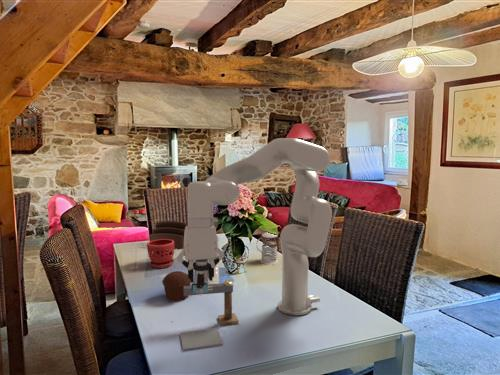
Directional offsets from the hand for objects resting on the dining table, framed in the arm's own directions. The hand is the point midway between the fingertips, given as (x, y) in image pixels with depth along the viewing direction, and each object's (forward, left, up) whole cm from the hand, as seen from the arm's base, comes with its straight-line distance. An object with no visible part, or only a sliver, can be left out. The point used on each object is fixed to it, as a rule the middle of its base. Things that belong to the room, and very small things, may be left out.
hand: (201, 279), depth 118 cm
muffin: (+4, -35, -20) cm, 40 cm away
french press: (-45, -68, -20) cm, 84 cm away
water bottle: (-11, -43, -20) cm, 49 cm away
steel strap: (-4, -10, -9) cm, 14 cm away
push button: (0, 0, -4) cm, 4 cm away
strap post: (-11, -10, -20) cm, 24 cm away
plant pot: (+8, -76, -20) cm, 79 cm away
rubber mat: (0, 0, -20) cm, 20 cm away
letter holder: (+2, -110, -20) cm, 111 cm away
